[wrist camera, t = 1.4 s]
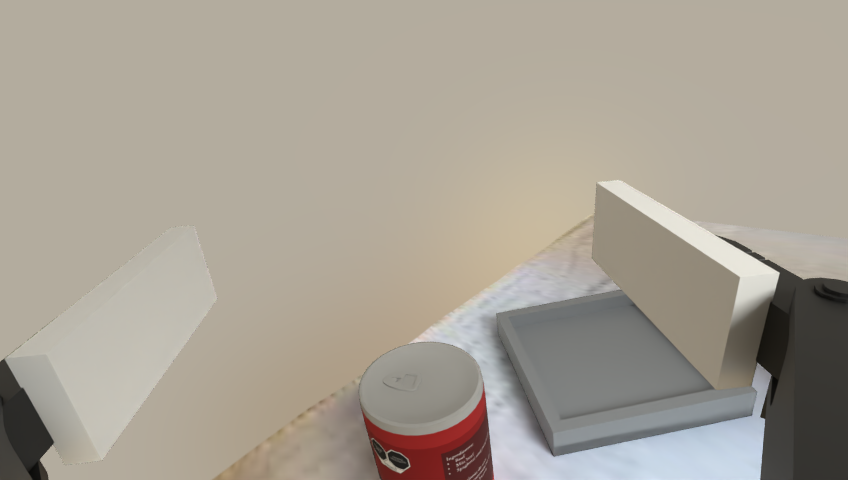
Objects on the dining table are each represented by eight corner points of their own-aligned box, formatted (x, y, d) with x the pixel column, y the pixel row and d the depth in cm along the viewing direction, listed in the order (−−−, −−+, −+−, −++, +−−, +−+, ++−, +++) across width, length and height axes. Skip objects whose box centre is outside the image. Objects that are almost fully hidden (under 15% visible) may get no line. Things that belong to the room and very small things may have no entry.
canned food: (388, 455, 36) (362, 348, 32) (486, 442, 36) (473, 332, 32) (385, 554, 30) (350, 436, 25) (505, 539, 29) (493, 417, 25)
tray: (638, 305, 50) (640, 286, 49) (751, 415, 35) (757, 391, 34) (497, 332, 49) (496, 313, 48) (554, 456, 34) (553, 433, 33)
